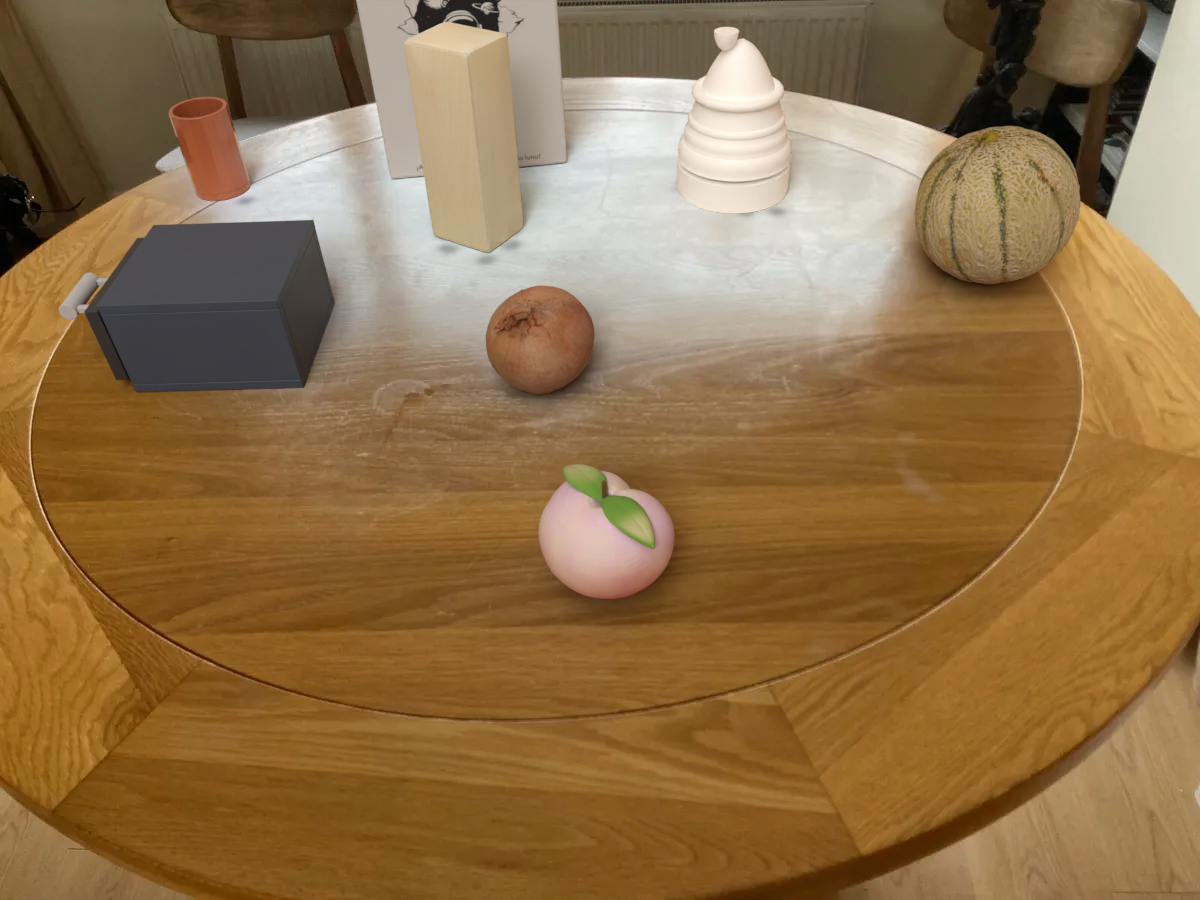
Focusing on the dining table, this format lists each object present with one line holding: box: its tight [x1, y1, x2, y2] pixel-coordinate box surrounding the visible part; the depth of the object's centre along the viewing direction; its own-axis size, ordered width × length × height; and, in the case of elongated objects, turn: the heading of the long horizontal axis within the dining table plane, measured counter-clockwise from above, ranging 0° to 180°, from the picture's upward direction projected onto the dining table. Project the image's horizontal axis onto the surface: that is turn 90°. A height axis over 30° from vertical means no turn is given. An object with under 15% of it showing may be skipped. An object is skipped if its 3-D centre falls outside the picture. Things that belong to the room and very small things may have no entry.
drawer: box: [58, 237, 145, 381], centre depth 89 cm, size 19×13×7 cm
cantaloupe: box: [914, 125, 1081, 285], centre depth 92 cm, size 15×15×15 cm
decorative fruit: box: [538, 463, 676, 600], centre depth 65 cm, size 9×8×10 cm
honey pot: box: [676, 26, 793, 215], centre depth 106 cm, size 13×13×18 cm
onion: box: [485, 285, 596, 395], centre depth 83 cm, size 10×9×10 cm
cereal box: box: [355, 0, 568, 180], centre depth 112 cm, size 22×8×25 cm, turn 98°
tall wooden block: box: [404, 22, 524, 253], centre depth 100 cm, size 8×7×21 cm
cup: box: [167, 96, 251, 202], centre depth 113 cm, size 6×6×10 cm
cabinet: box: [97, 219, 336, 393], centre depth 89 cm, size 15×14×9 cm
